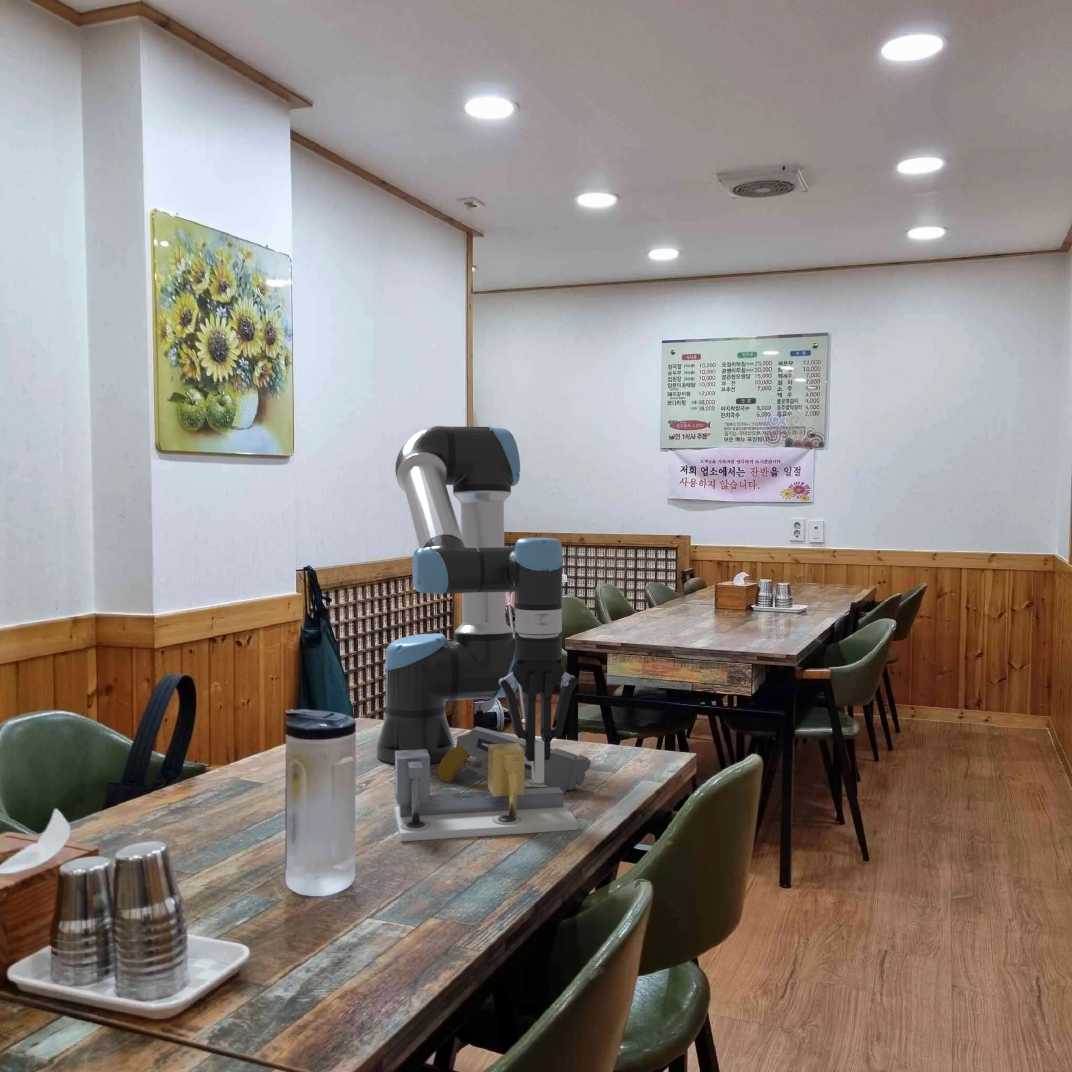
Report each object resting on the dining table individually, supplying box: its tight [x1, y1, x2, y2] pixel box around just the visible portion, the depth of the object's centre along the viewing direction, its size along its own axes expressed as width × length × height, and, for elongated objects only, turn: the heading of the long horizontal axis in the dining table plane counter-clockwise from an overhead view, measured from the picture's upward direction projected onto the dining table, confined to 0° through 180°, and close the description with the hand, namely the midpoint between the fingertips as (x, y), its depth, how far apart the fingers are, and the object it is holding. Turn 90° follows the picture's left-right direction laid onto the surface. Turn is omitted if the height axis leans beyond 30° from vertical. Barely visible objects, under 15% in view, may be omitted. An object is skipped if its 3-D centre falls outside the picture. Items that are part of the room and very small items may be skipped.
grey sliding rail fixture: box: [394, 749, 565, 824], centre depth 158 cm, size 9×26×9 cm, turn 102°
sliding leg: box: [487, 743, 525, 816], centre depth 158 cm, size 9×5×9 cm, turn 12°
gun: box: [436, 726, 592, 793], centre depth 177 cm, size 3×25×15 cm, turn 76°
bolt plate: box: [394, 803, 579, 842], centre depth 157 cm, size 13×27×1 cm, turn 102°
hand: (537, 780), depth 162 cm, fingers closed
